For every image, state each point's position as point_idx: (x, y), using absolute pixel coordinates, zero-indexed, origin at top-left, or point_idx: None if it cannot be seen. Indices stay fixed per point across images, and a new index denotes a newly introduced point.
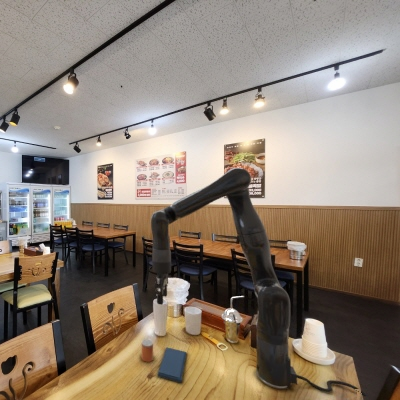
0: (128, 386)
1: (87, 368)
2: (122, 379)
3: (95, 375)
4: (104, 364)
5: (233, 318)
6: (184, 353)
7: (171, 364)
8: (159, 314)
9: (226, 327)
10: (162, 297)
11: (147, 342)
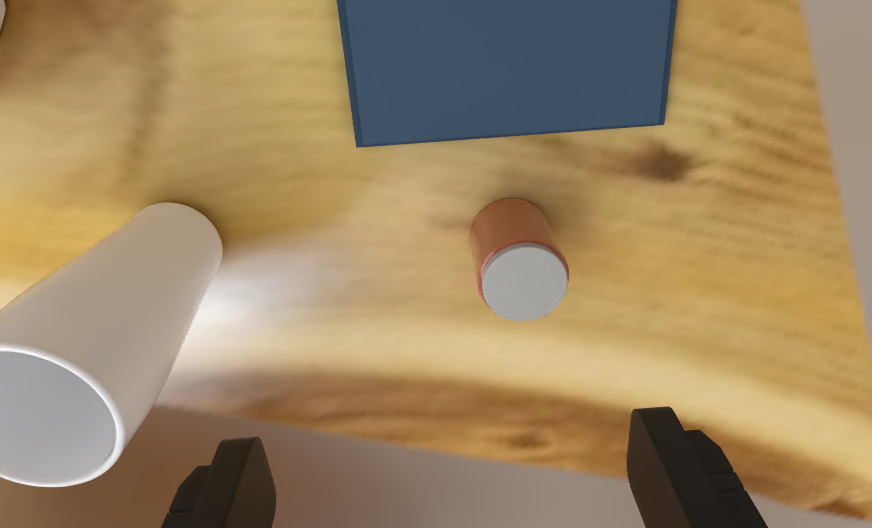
0: (782, 244)
1: None
2: (739, 290)
3: (745, 408)
4: None
5: None
6: None
7: (551, 59)
8: (167, 334)
9: None
10: (720, 509)
11: (524, 283)
